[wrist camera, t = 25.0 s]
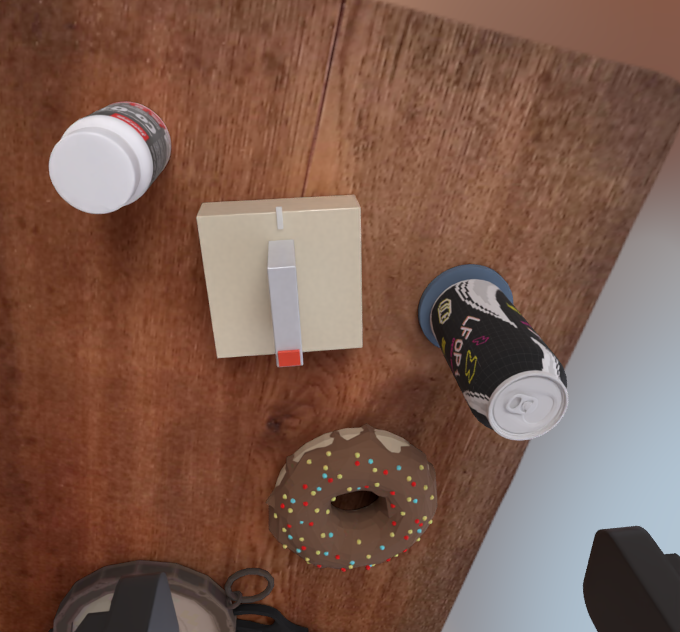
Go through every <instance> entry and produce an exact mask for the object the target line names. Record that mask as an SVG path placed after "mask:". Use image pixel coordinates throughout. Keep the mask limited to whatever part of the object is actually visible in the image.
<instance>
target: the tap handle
mask: <svg viewBox="0 0 680 632" xmlns="http://www.w3.org/2000/svg"><path fill="white" fill-rule="evenodd" d="M267 273H268V283H269V293H270V303H271V313H272V323H273V333H274V343H275V353H276V364H277V367H288V366H301V365H303V353H302V340H301V326H300V312H299V299H298V285H297V272H296V258H295V245H294V240H293V239H291V240H275V241H269V242H268V260H267Z"/></svg>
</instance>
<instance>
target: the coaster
mask: <svg viewBox="0 0 680 632" xmlns="http://www.w3.org/2000/svg"><path fill="white" fill-rule="evenodd" d="M470 279H479V280H484V281H488V282H490V283H492V284H494V285H496V286H497V287H498V288H499V289H500V290H501V291H502V292H503V293H504V294H505V296H506V297H507V298H508V299H509V300H510V302H511V303H512V304H513V296H512V292H511V290H510V287H509V286H508V284H507V282H506V281H505V280H504V279H503V278H502V277H501V276H500V275H499V274H498V273H497V272H495V271H494V270H492V269H490V268H488V267H485V266H481V265H474V264H468V265H461V266H457V267H454V268H451V269H449V270H447V271H445V272H443V273H441V274H440V275H438V276H437V277H436V278H435V279H434V280H433V281H432V282H431V283H430V284H429V285H428V286H427V288H426V289H425V291H424V293H423V294H422V297H421V299H420V303H419V307H418V319H419V323H420V326H421V329H422V331H423V333H424V334H425V336H426V337H427V339H428V340H429V341H430V342H431V343H433V344H434V345H435V346H437V347H439V348H440V346H439V344H438V342H437V340H436V338H435V336H434V334H433V332H432V330H431V325H430V314H431V310H432V307H433V305H434V303H435V301H436V300H437V298H438V297H439V295H440V294H441V293H443V292H444V291H445V290H446V289H447V288H449V287H450V286H452V285H454V284H456V283H458V282H461V281H464V280H470Z"/></svg>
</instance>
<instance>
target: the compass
mask: <svg viewBox="0 0 680 632" xmlns="http://www.w3.org/2000/svg"><path fill="white" fill-rule="evenodd" d="M159 572H164V573H165V574H166V576H167V579H168V583H169V587H170V591H171V595H172V600H173V604H174V608H175V612H176V616H177V620H178V624H179V632H235V631H236V618H237V616H234V614H233V609H235V608H236V607H238V606H239V605H240V603H252V602H255V601H259V600H262V599H263V598H265V597H266V596H267V595H269V594H270V592H271V590H272V589H273V587H274V578H273V577H272V576H271V575H270V574H269V573H268V572H267V571H265V570H262V569H260V568H246V569H243V570H240V571H237V572H236V573H234V574H233V575H231V576H230V577H229V578H228V580H227V582H226V584H225V586H224V587H225V591H224V590H223V589H222V588H221V587H220V586H219V585H218V584H216V583H215V582H214V581H213V580H212V579H211V578H210V577H209V576H207V575H205V574H202V573H200V572H197V571H194V570H192V569H189V568H187V567H184V566H182V565H179V564H177V563H166V562H155V561H144V560H138V561H132V562H127V563H121V564H116V565H110V566H105V567H103V568H101V569H99V570H97V571H95V572H93V573H92V574H90V575H88V576H86V577H84V578H82V579H81V580H79V581H77V582H76V583H75V584H74V585H73V587H72V588H71V589H70V591H69V592H68V594H67V595H66V596H65V598H64V599H63V600H62V602H61V603H60V606H59V608H58V611H57V614H56V616H55V619H54V628H53V629H50V630H49V632H74V631H75V630H76V629H77V627H78V626H79V625H80V623H81V622H82V621H83V619H84V618H85V616H86V615H87V614H88V613H95V612H104V611H109V609H110V605H111V602H112V598H113V595H114V591H115V588H116V585H117V582H118V580H119V579H120V578H121V577H122V576H129V575H139V574H149V573H159ZM248 574H257V575H260V576H263V577H265V578H266V579H267V581H268V586H267V588H266V589H265V590H264V591H263V592H261V593H260V594H257V595H254V596H248V597H242V593H241V592H240V591H234V592H232V591H231V585H232V583H233V581H235V580H236V579H238V578H239V577H241V576H245V575H248ZM231 600H233V601H236V602H235V603H234V604H232V602H231Z"/></svg>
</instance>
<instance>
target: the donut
mask: <svg viewBox="0 0 680 632" xmlns="http://www.w3.org/2000/svg"><path fill="white" fill-rule="evenodd" d="M361 490H363V491H372V492H373V493H375V494H376V495H378V496H379V497H378V499H377V500H376V501H374V502H373V503H371V504H370V505H368V506H366V507H363V508H360V509H357V510H342V509H340V508H337V507H334V506H333V505H332V504H330V503H331V501H335V500H336V496H338V495H342V494H346V493H350V492H354V491H361ZM266 504H268V505H269V530H270V532H271V533H272V534H273V535H274V537H275V538H276V539H277V540H278V542H280V543H281V544H283V548H289V549H290V550H292V551H293V552H295V553H296V554H297V555H299V556H300V557H302V558H303V559H305V560H306V561H307V564H310V563H311V564H313V565H315V566H317V567H318V568H326V567H330V568H335V569H341V570H342V571H343V572H344V571H345V570H346V569H352V568H355V567H360V566H366V569H367V570H369V569H370V567H371V566H374V565H375V564H378V563H382V562H384V561H387V562H388V561H390V558H391V557H393V556H395V557H397V556H398V553H400V552H402V551H403V552H406V551H407V548H409V547H411V546H412V545H413V544H414V543H415V541H419V540H420V536H421V535H422V534H423V533H424V532H425V530H426V529H427V528H428V526H429V524H431V523H432V518H433V516H434V514H435V511H436V508H437V492H436V475H435V469H434V467H433V465H432V464H431V463H429V462H428V461H427V458H426V455H425V454H424V453H423V452H422V451H420V450H419V449H417V448H416V447H414V446H413V445H411V444H410V443H409V442H408V441H406V440H405V439H404V438H402V437H399V436H397V435H395V434H392V433H390V432H388V431H384V430H378V429H375V428H374V427H372V426H370V425H368V424H365V425H363V426H362V427H360V428H346V429H341V430H338V431H335V430H334V431H333V432H330V433H326V434H323V435H321V436H319V437H317V438H315V439H313V440H312V441H310V442H308V443H306V444H304V445H303V446H302V447H301V448H300V449H299V450H297V451H296V452H295V453H294V454H293V455H291V456H288V457H287V458H286V464H285V465H284V467H283V468H282V469H281V471H280V474H279V477H278V479H277V482H276V486H275V488H274V490H273V491H272V493H271V494H270V496H269V498H268V499H267V501H266Z"/></svg>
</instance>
